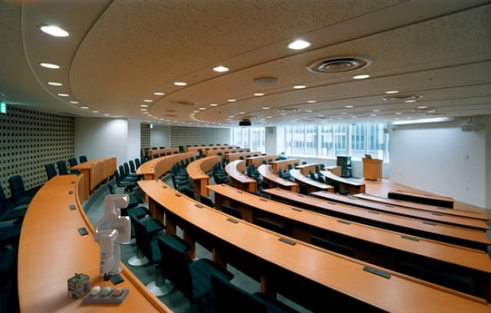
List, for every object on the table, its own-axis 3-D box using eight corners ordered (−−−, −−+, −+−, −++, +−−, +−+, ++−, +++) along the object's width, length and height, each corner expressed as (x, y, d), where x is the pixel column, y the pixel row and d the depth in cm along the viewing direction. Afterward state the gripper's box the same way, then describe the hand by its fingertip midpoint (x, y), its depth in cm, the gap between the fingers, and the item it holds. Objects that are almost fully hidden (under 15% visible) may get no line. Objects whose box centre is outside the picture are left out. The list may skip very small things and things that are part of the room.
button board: (83, 302, 150) (83, 298, 150) (92, 292, 160) (92, 288, 160) (121, 303, 151) (121, 298, 151) (128, 293, 161) (128, 288, 161)
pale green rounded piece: (101, 296, 153) (100, 290, 153) (105, 292, 158) (105, 286, 158) (108, 296, 153) (108, 291, 153) (112, 292, 158) (112, 286, 158)
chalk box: (90, 292, 161) (90, 271, 160) (76, 300, 152) (75, 278, 151) (81, 288, 164) (81, 267, 163) (67, 296, 156) (66, 274, 155)
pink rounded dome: (112, 296, 154) (112, 291, 153) (115, 292, 158) (115, 286, 158) (119, 297, 154) (119, 291, 153) (123, 292, 158) (123, 286, 158)
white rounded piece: (89, 296, 153) (89, 290, 153) (94, 291, 158) (94, 286, 157) (97, 296, 153) (97, 290, 153) (101, 291, 158) (101, 286, 158)
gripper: (106, 259, 146) (106, 287, 147) (118, 248, 161) (118, 274, 162) (93, 258, 146) (93, 287, 147) (106, 248, 161) (106, 274, 162)
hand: (106, 280), depth 155 cm, fingers closed
